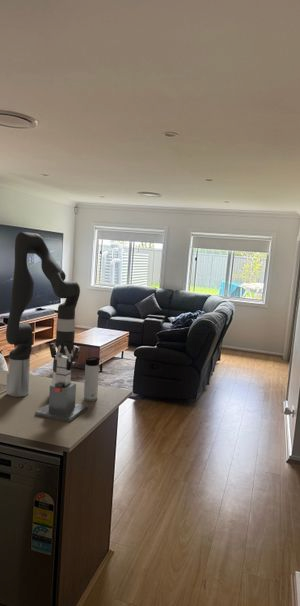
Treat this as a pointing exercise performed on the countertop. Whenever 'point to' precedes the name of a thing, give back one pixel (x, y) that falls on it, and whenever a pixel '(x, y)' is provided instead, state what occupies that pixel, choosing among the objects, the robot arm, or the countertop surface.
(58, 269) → the robot arm
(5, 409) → the countertop surface
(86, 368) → the travel mug
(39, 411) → the stepped pedestal base
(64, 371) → the block
